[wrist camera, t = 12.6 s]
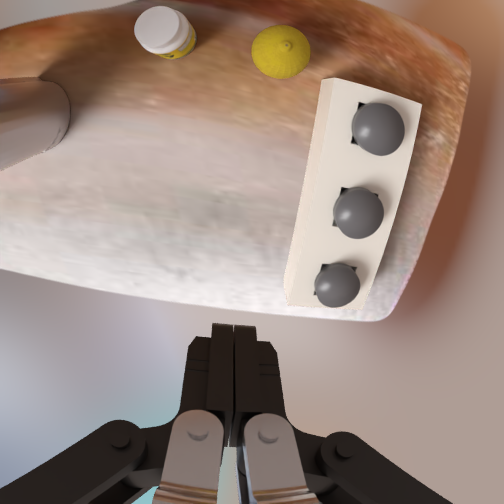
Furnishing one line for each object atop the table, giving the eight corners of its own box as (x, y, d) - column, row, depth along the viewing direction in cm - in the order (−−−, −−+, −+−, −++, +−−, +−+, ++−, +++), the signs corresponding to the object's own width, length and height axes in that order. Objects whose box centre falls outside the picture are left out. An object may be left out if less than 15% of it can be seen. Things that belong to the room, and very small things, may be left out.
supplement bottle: (146, 50, 27) (119, 39, 20) (168, 15, 26) (147, -6, 18) (183, 67, 29) (165, 58, 21) (205, 31, 27) (194, 12, 19)
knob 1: (341, 283, 41) (352, 308, 36) (304, 280, 40) (311, 306, 35) (351, 249, 38) (366, 272, 33) (313, 244, 38) (323, 267, 33)
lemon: (309, 70, 29) (329, 64, 22) (262, 87, 30) (268, 84, 23) (289, 27, 27) (303, 9, 20) (242, 44, 28) (242, 28, 21)
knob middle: (359, 221, 37) (376, 241, 32) (319, 215, 36) (331, 236, 31) (370, 181, 34) (389, 196, 29) (329, 173, 34) (343, 187, 29)
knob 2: (377, 150, 32) (398, 160, 28) (335, 141, 32) (351, 149, 27) (385, 107, 30) (409, 111, 25) (343, 96, 29) (361, 97, 25)
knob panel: (351, 288, 43) (362, 309, 38) (282, 282, 42) (287, 305, 37) (400, 101, 31) (422, 104, 26) (321, 79, 30) (334, 77, 25)
